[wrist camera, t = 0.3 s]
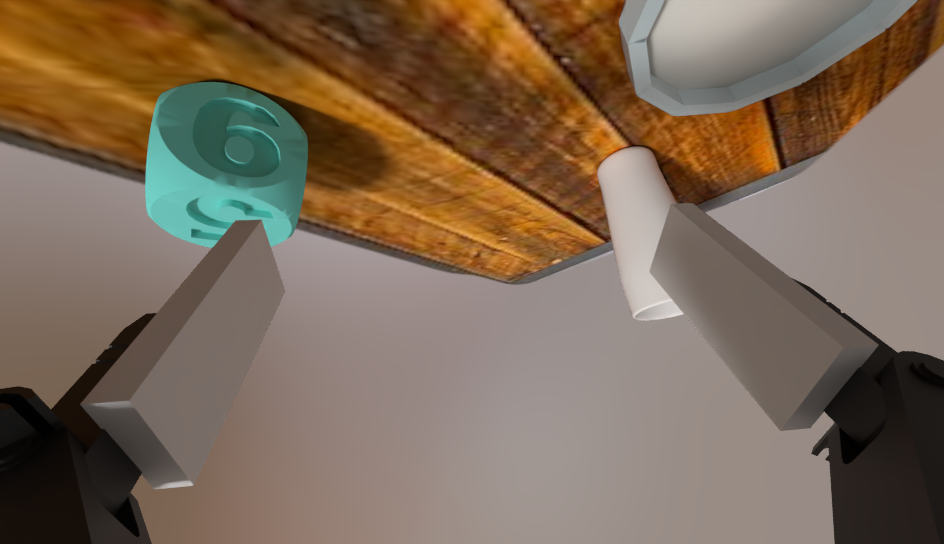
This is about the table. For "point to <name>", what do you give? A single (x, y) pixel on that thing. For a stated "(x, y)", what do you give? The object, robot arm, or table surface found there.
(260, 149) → the decorative dice
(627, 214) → the drinking glass
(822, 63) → the dish
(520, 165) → the table surface
